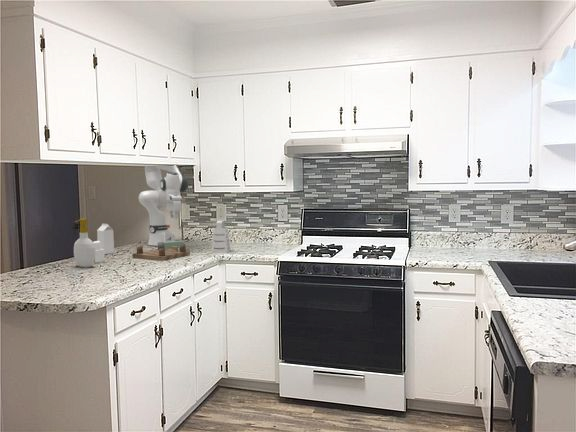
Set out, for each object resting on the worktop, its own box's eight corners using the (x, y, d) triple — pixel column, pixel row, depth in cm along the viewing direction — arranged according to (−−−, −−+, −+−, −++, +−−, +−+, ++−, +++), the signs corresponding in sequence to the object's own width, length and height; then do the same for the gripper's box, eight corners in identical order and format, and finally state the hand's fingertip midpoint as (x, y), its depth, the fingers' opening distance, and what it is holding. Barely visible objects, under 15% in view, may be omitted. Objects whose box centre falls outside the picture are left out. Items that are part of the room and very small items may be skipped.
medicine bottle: (86, 262, 274) (85, 241, 273) (96, 260, 280) (95, 240, 279) (94, 263, 271) (94, 242, 270) (105, 261, 277) (104, 240, 276)
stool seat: (161, 252, 310) (161, 242, 309) (189, 255, 298) (189, 244, 297) (132, 257, 289) (132, 247, 288) (162, 261, 277) (161, 249, 277)
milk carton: (104, 254, 301) (103, 224, 300) (97, 253, 305) (96, 223, 304) (114, 253, 307) (113, 223, 305) (107, 252, 311) (106, 223, 310)
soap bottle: (68, 266, 261) (66, 218, 259) (83, 264, 268) (81, 217, 266) (85, 269, 253) (83, 219, 251) (99, 266, 261) (98, 218, 259)
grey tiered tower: (230, 250, 317) (230, 220, 315) (227, 252, 307) (226, 221, 305) (215, 250, 318) (214, 220, 316) (211, 252, 308) (210, 221, 306)
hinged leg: (158, 249, 302) (158, 243, 302) (156, 248, 306) (156, 242, 306) (185, 247, 311) (185, 241, 311) (183, 246, 315) (182, 240, 315)
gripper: (164, 196, 322) (164, 217, 323) (172, 197, 304) (173, 219, 305) (173, 196, 325) (174, 216, 326) (182, 197, 307) (183, 218, 308)
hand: (173, 218), depth 315 cm, fingers open, 8 cm apart
